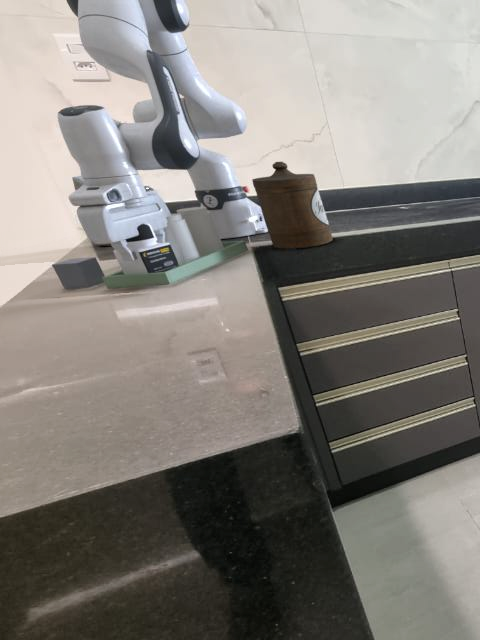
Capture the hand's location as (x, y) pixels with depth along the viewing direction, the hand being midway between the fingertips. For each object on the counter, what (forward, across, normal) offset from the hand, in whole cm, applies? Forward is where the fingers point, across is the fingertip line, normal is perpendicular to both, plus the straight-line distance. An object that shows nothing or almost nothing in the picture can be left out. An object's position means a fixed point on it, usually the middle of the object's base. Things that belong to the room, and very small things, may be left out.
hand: (146, 255), depth 117 cm
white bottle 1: (+5, -10, 0) cm, 11 cm away
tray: (+6, -10, 0) cm, 12 cm away
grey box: (+6, +1, -14) cm, 15 cm away
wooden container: (+6, -32, +18) cm, 37 cm away
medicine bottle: (+5, 0, 0) cm, 5 cm away
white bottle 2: (+5, -20, 0) cm, 21 cm away
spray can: (+6, -52, -45) cm, 69 cm away
